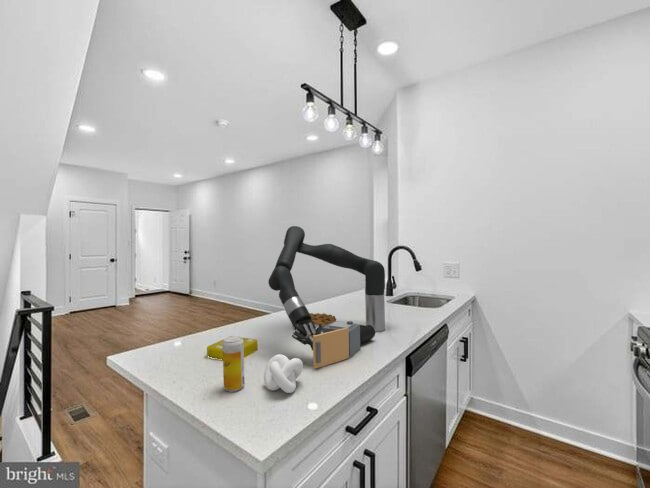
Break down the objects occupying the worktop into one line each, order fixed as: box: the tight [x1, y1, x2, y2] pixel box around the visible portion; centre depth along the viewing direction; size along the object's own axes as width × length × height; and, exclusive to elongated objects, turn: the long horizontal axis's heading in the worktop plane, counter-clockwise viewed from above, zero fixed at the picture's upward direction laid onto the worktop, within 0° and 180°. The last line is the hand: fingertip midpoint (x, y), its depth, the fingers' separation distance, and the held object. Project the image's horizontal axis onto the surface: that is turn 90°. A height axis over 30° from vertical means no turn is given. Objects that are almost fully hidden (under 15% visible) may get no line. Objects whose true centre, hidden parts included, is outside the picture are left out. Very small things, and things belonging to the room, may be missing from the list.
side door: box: [312, 328, 350, 369], centre depth 109 cm, size 2×16×11 cm, turn 125°
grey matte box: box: [322, 320, 361, 359], centre depth 121 cm, size 10×12×11 cm
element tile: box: [206, 335, 259, 361], centre depth 122 cm, size 15×15×5 cm
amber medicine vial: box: [222, 335, 246, 393], centre depth 93 cm, size 6×6×15 cm
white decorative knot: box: [263, 354, 304, 394], centre depth 91 cm, size 11×12×9 cm
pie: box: [309, 312, 337, 332], centre depth 157 cm, size 22×22×5 cm
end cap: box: [360, 324, 376, 345], centre depth 131 cm, size 10×7×7 cm
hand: (318, 352), depth 107 cm, fingers closed
